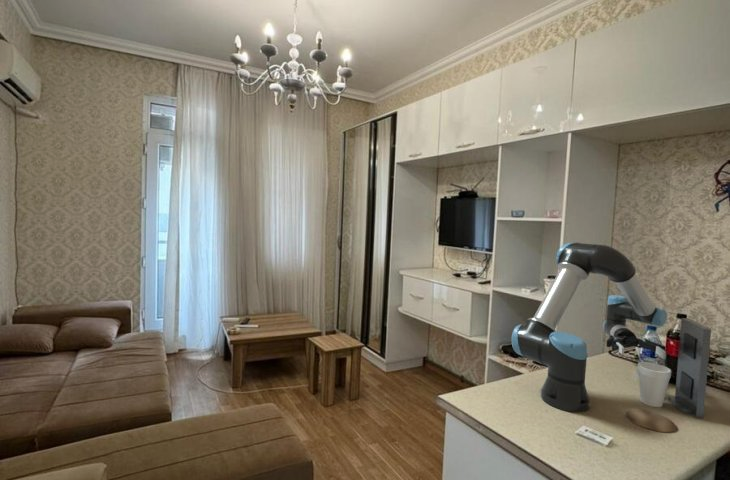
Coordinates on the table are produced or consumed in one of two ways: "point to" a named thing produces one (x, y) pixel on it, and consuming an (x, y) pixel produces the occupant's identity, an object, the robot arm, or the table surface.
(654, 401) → the foam cup
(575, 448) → the table surface
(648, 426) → the coaster
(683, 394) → the post
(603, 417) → the table surface
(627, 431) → the table surface
